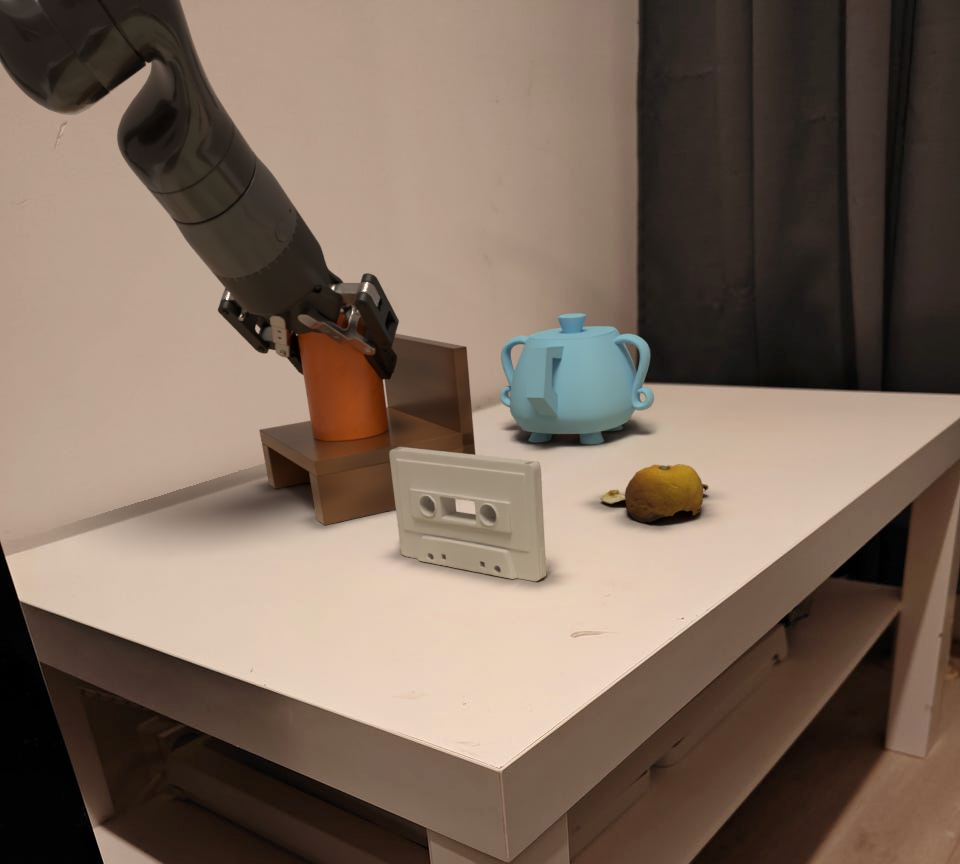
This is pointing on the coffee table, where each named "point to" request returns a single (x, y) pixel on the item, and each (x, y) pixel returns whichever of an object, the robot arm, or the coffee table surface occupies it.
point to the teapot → (575, 380)
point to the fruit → (661, 492)
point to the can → (341, 389)
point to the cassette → (470, 537)
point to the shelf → (366, 462)
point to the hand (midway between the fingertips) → (352, 371)
